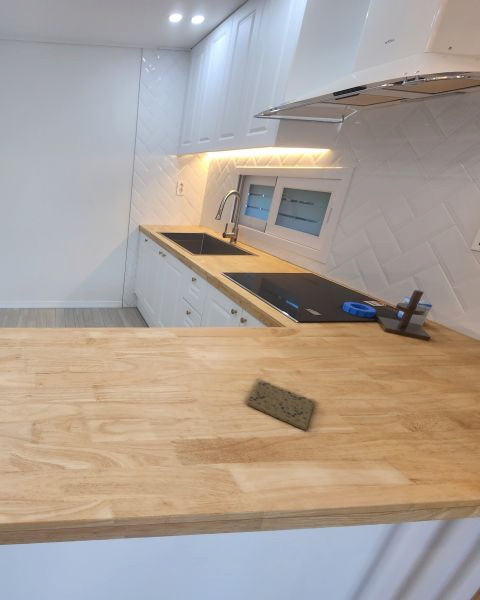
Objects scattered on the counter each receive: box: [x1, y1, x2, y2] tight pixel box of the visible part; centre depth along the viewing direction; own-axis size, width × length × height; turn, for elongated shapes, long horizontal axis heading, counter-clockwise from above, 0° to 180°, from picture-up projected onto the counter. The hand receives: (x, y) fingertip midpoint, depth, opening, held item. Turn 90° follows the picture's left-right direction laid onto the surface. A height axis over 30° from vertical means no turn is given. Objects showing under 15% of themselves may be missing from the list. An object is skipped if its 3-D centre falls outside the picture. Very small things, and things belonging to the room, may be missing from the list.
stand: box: [375, 289, 431, 342], centre depth 119 cm, size 12×12×15 cm
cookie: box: [246, 380, 315, 431], centre depth 77 cm, size 12×12×1 cm
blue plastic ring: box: [341, 301, 377, 319], centre depth 135 cm, size 10×10×2 cm
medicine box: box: [397, 295, 433, 327], centre depth 128 cm, size 8×4×9 cm, turn 164°
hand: (474, 242), depth 117 cm, fingers open, 13 cm apart
